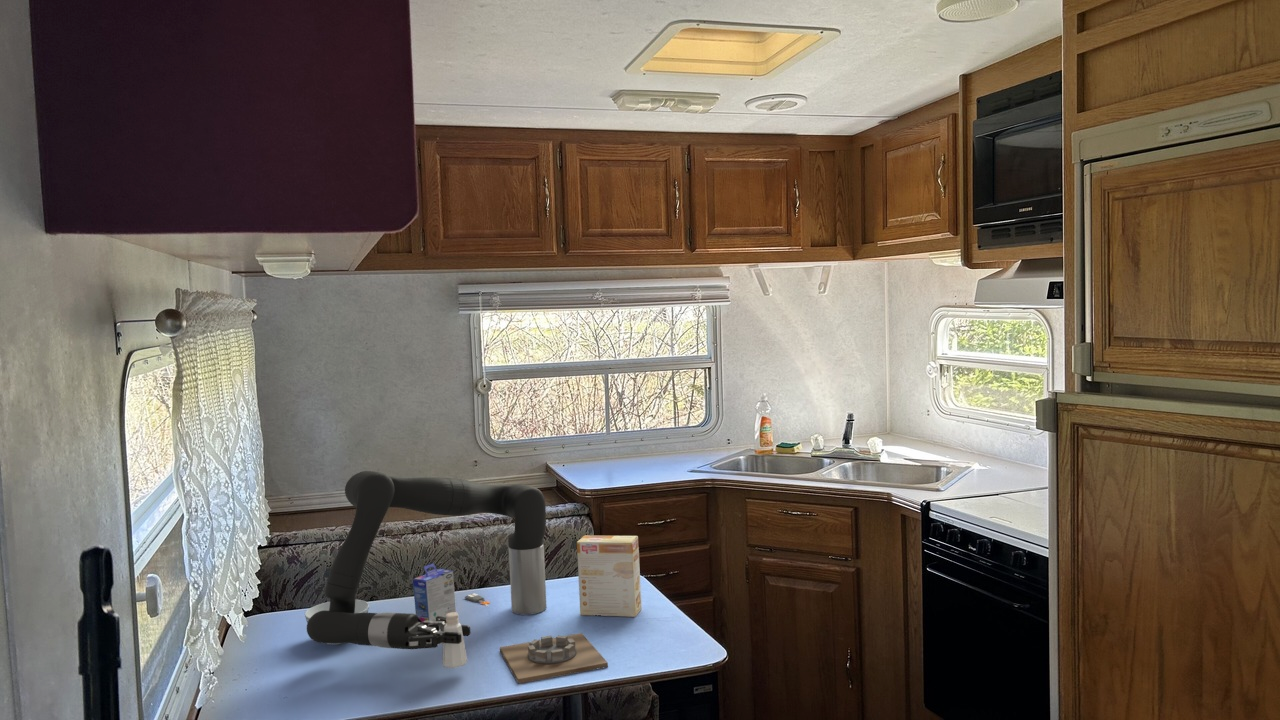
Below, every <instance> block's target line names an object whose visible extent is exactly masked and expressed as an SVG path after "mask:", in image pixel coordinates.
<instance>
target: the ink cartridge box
mask: <svg viewBox="0 0 1280 720" xmlns="http://www.w3.org/2000/svg"><path fill="white" fill-rule="evenodd" d="M422 567H423V570H424V573H425V574H423V575H420V576H417V577H415V578H413V579H412V586H413V587H412V588H413V596H414V607H415V609H414V611H415V614H416V615H417V616H418V617H419V619H420V620H421V621H422V622H424V621H426V620H431V621H436V617H437V616H441V617H445V615H446V614H448V613H451V612H456V613H457V610H456V609H457V607H456V594H455V584H454V583H455V580H454V579H455V578H454V571H453V570H450V569H443V568H438V569H437V567H436V566H435V563H430V564H428V565H425V566H422ZM429 568H433V569H431V570H428V569H429ZM445 618H446V617H445Z"/></svg>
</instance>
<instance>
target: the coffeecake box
mask: <svg viewBox="0 0 1280 720" xmlns="http://www.w3.org/2000/svg"><path fill="white" fill-rule="evenodd" d="M639 549H640V547H639V536H638V535H583V536H582V537H581V538H580V539H579V540H578V541H576V552H577V554H576V556H577V571H578V591H579V592H578V594H579V611H580V612H579V613H580V614H579V615H580V616H595V615H597V616H598V615H601V616H602V617H604V616H605V617H629V618H636V617H637V615H638V614H639V612H641V610H642V590H641V588H642V587H641V573H640V572H641V571H640V550H639ZM601 616H600V617H601ZM598 617H599V616H598Z"/></svg>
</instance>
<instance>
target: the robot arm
mask: <svg viewBox="0 0 1280 720" xmlns="http://www.w3.org/2000/svg"><path fill="white" fill-rule="evenodd" d="M344 487H345V488H344V494H345V498H346V500H347V501H348V502H349V503H350V504H351V505H352V506H353V507H355V508H356V509H355V514H354V518H353V521H352V525H351V527H350V530H349V532H348V534H347V536H346V538H345V540H344V542H343V543H342V544H341V547H340V548H339V550H338V552H337V554H336V555H335V558H334V559H333V563H332V565H331V569H330V571H329V574H328V577H327V581H326V584H325V588H324V595H325V597H326V598H328V599H329V602H330V608H329V611H319V612H317V613H315V614H314V615H313V616H312V617H311V618H310V619H309V621H308V623H307V622H306V623H307V624H306V632H307V635H308V637H309V639H311V641H313V642H315V643H317V644H318V643H319V644H326V643H343V644H354V645H360V646H369V647H370V646H371V647H379V648H383V649H384V648H385V649H399V650H401V649H402V650H421V649H422V650H423V649H435V648H438V647H439V646H438V645H442V646H443V644H444V643H452V644H459V643H461V641H462V638H461V633H456V632H445V633H444V626H445V625H446V623H447V622H446V618H445V617H441V616H437V617H436V621H431V620H426V621H424V622H422V621H421V620H420V619H419V617H418V616H417V615H416V613H405V612H404V613H402V612H368V613H355V599H356V596H357V595H356V594H357V592H358V588H359V586H360V582H361V579H362V576H363V572H364V569H365V566H366V562H367V559H368V556H369V553H370V551H371V549H372V546H373V543H374V541H375V538H376V536H377V533H378V531H379V529H380V526H381V525H382V523H383V521H384V519H385V516H386V514H387V512H388V510H389V508H400V509H406V510H410V511H415V512H419V513H420V512H421V513H425V514H431V515H438V516H451V517H452V516H453V517H455V516H456V517H460V516H461V517H462V516H469V515H475V514H479V513H480V514H482V513H487V514H488V513H489V514H494V515H495V514H496V515H501V516H505V517H509V518H510V519H514V532H513V533H511V534H510V535H509V536H508V538H507V542H508V543H507V544H508V547H507V548H508V561H509V562H508V564H509V581H510V583H509V584H510V601H511V612H512V613H514V614H517V615H523V616H525V615H535V614H536V615H537V614H539V613H542V612H543V611H546V610H547V590H546V589H547V588H546V587H547V586H546V570H545V568H546V566H545V547H544V546H545V545H544V537H545V534H546V529H547V525H546V524H547V521H546V520H547V517H546V516H547V508H546V499H545V496H544V493H543V492H542V491H541V490H540V489H538V488H537V487H535V486H532V485H531V486H530V485H526V484H523V483H522V484H521V483H512V484H511V483H510V484H487V483H481V482H478V481H473V480H467V479H462V478H460V479H459V478H454V477H453V478H451V477H431V476H430V477H423V476H422V477H399V476H393V475H387V474H385V473H383V472H378V471H374V470H373V471H372V470H363V471H359V472H357V473H355V474H354V475H352V476H351V477H350V478H349V479H348V481H347V482H346V484H345V486H344ZM461 627H462V632H463V637H469V636H470V635H471V626H470V625H468V624H467V625H465V624H461Z"/></svg>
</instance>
